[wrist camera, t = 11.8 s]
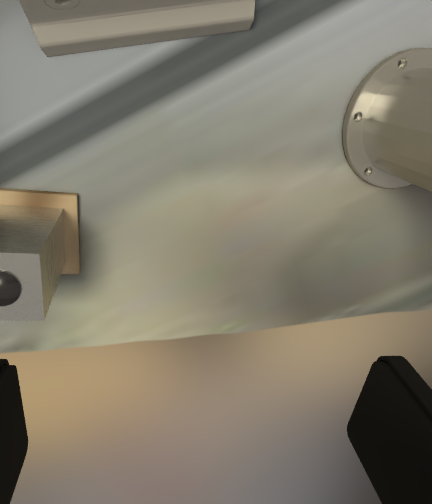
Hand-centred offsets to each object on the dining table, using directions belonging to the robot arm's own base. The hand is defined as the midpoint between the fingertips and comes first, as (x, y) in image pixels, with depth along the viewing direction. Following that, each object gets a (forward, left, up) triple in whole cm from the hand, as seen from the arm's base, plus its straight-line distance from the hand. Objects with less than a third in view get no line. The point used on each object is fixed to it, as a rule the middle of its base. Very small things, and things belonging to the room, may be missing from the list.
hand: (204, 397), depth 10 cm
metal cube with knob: (+11, +7, -26) cm, 29 cm away
